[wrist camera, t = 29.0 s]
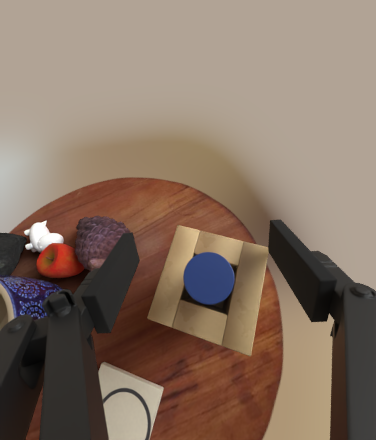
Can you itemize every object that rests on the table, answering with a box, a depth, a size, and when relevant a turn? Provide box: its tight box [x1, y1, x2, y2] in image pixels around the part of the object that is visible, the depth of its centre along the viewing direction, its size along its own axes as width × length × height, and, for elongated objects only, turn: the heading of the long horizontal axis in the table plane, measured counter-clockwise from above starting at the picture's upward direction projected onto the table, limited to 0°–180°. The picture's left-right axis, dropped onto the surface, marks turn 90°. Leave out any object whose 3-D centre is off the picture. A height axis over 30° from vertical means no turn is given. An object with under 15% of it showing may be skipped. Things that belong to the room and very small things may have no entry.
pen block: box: [147, 225, 269, 356], centre depth 26 cm, size 8×8×22 cm
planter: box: [0, 275, 63, 330], centre depth 30 cm, size 16×16×15 cm
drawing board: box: [98, 362, 164, 440], centre depth 31 cm, size 11×13×1 cm
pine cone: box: [75, 216, 130, 272], centre depth 37 cm, size 18×10×10 cm
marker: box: [183, 252, 234, 305], centre depth 17 cm, size 3×3×13 cm
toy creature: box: [24, 220, 64, 252], centre depth 42 cm, size 5×8×6 cm
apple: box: [36, 243, 84, 278], centre depth 37 cm, size 6×6×8 cm
